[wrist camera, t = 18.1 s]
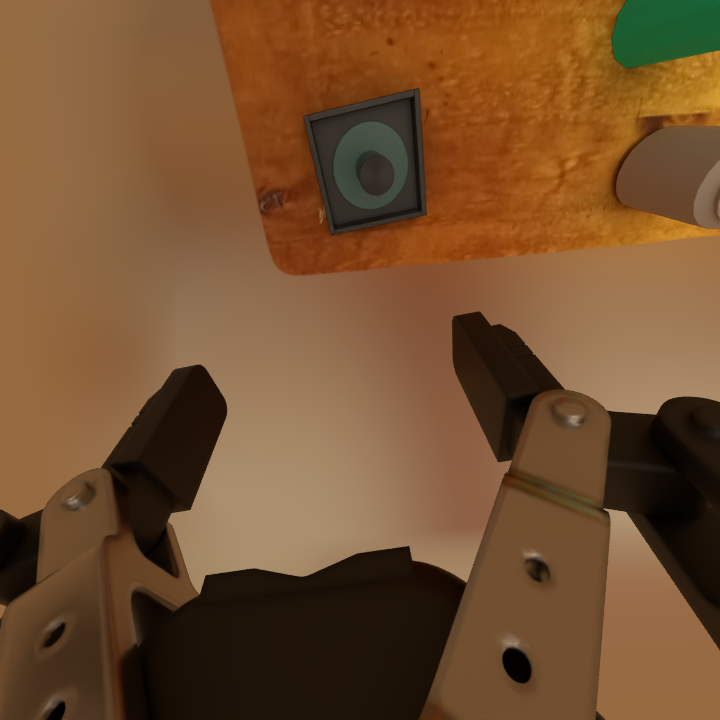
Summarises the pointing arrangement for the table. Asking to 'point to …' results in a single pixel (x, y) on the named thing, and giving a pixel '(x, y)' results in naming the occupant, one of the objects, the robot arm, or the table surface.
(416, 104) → the square tray
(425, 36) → the table surface
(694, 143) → the can
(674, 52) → the candle
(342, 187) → the pan lid
